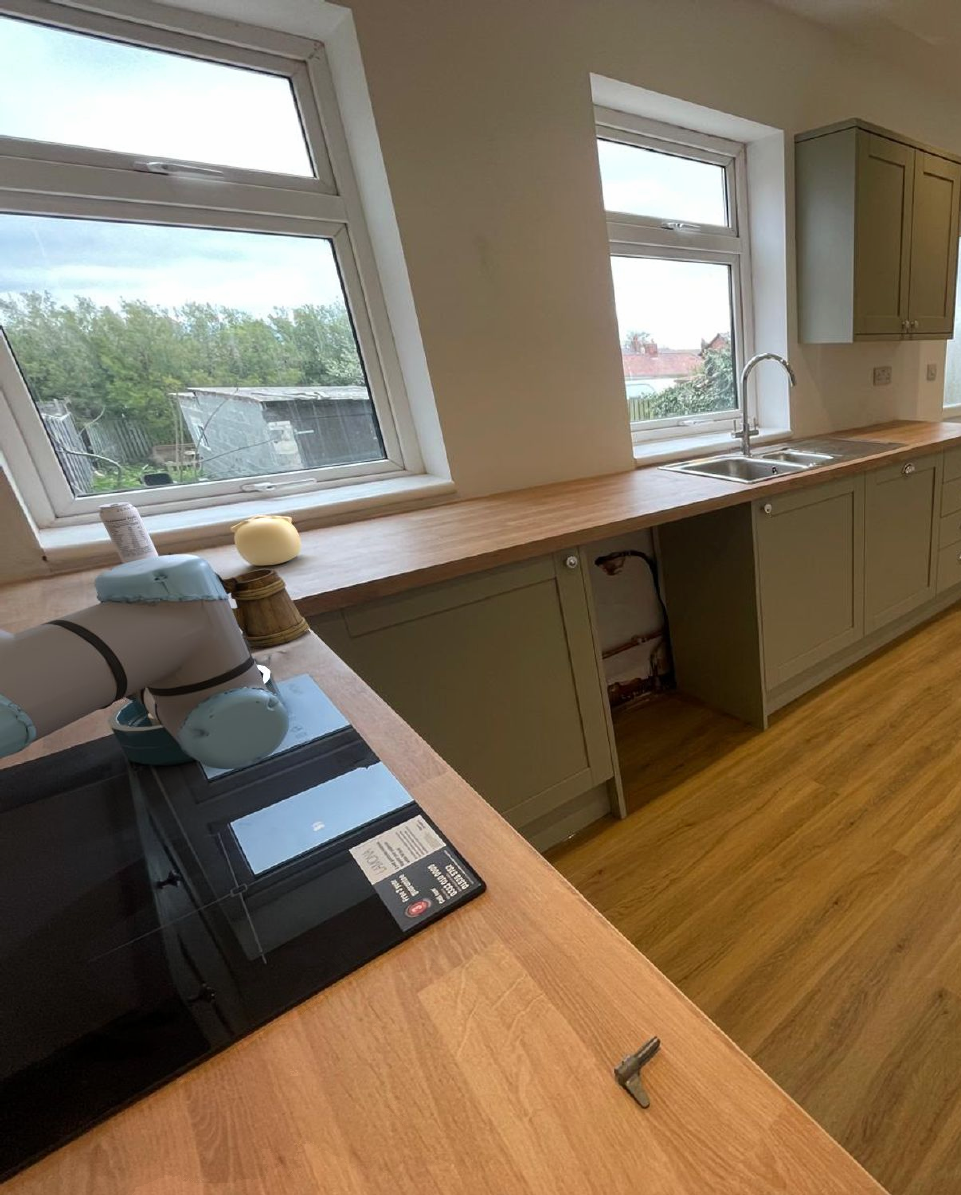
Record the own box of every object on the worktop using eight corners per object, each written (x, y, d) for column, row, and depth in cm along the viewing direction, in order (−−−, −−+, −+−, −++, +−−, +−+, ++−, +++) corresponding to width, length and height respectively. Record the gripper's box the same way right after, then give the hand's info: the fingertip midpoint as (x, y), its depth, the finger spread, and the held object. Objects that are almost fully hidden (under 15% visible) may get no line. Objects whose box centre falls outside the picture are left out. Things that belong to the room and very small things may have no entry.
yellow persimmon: (304, 549, 155) (288, 506, 151) (308, 561, 146) (291, 515, 142) (244, 561, 148) (225, 516, 144) (245, 575, 140) (225, 527, 135)
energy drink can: (164, 561, 151) (136, 499, 145) (159, 568, 147) (129, 504, 141) (130, 567, 148) (99, 504, 142) (124, 574, 144) (92, 509, 138)
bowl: (115, 787, 74) (92, 747, 71) (143, 725, 85) (124, 689, 83) (283, 736, 82) (267, 699, 79) (286, 686, 93) (272, 652, 91)
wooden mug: (201, 655, 104) (151, 550, 97) (290, 621, 115) (252, 524, 108) (231, 665, 100) (182, 556, 93) (321, 628, 112) (283, 529, 104)
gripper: (266, 628, 71) (199, 588, 84) (69, 692, 60) (25, 635, 72) (291, 686, 74) (222, 640, 87) (107, 758, 63) (59, 692, 75)
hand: (133, 638), depth 80 cm, fingers closed on wooden stirrer, 2 cm apart
